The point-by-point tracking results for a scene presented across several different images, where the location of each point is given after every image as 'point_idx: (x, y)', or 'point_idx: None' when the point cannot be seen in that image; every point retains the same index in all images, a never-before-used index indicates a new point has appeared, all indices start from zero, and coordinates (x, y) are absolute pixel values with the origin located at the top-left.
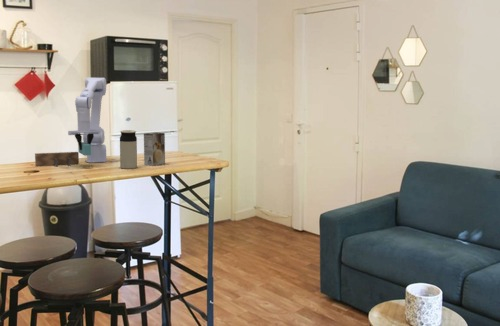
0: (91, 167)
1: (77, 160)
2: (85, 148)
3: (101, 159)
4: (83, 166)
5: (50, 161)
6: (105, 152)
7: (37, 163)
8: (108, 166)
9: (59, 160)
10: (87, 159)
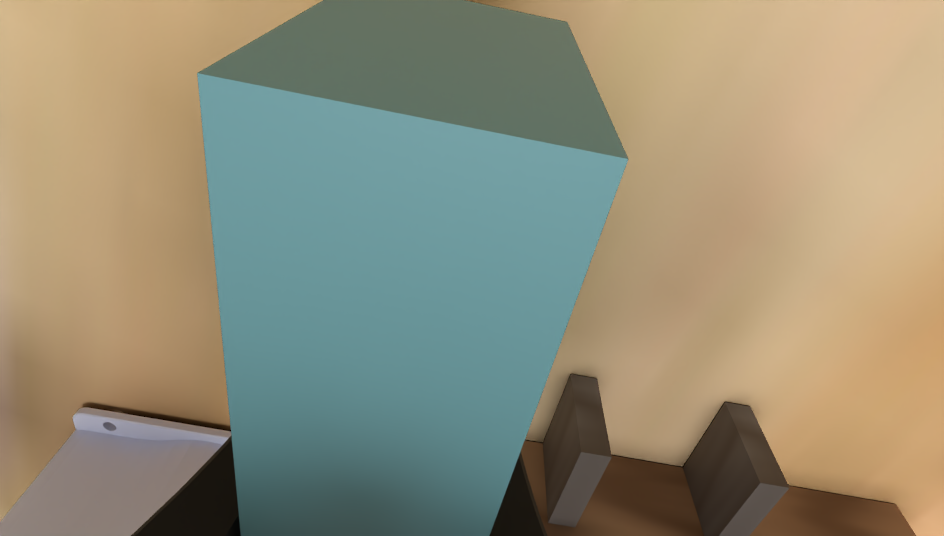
0: None
1: None
2: (547, 77)
3: (126, 454)
4: None
5: (765, 524)
6: (5, 529)
7: (898, 532)
8: (70, 52)
9: (664, 514)
10: None
